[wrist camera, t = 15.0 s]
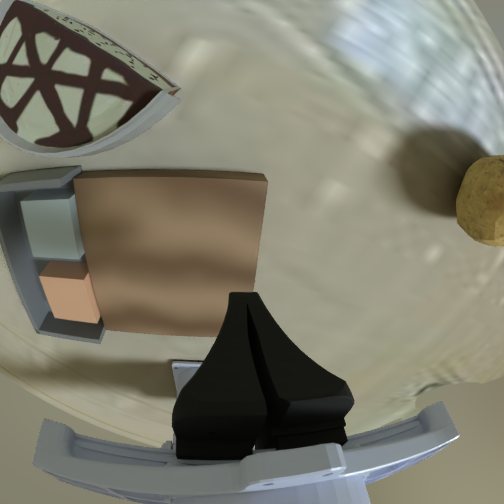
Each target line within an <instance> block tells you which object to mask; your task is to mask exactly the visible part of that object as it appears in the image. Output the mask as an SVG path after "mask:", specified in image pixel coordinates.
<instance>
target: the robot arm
mask: <svg viewBox="0 0 504 504" xmlns="http://www.w3.org/2000/svg"><path fill="white" fill-rule="evenodd" d="M172 370H173V376H174V381H175V386H176V391H177V397H176V403H175V405H174V409H173V413H172V428H173V431H174V434H173V444H172V441H166V443H164V444H163V445H162V447H161V448H150V447H143V446H136V445H129V444H123V443H117V442H112V441H106V440H102V439H97V438H93V437H88V436H84V435H80V434H76V433H75V432H74V431H73V429H72V428H70V427H69V426H67V425H65V424H62V423H58V422H55V421H52V420H49V419H43V422H42V426H41V430H40V434H39V438H38V442H37V446H36V451H35V456H34V460H33V465H34V466H36V467H37V468H39V469H41V470H42V471H44V472H45V473H47V474H49V475H50V476H52V477H54V478H56V479H58V480H59V481H62V482H65V483H67V484H70V485H74V486H77V487H80V488H83V489H87V490H90V491H93V492H96V493H100V494H103V495H107V496H111V497H115V498H119V499H124V500H128V501H133V502H138V503H143V504H371V503H370V500H369V496H368V493H367V489H366V486H365V485H366V484H369V483H372V482H375V481H377V480H380V479H382V478H385V477H387V476H389V475H392V474H394V473H397V472H399V471H401V470H403V469H405V468H408V467H410V466H412V465H414V464H416V463H418V462H420V461H423V460H425V459H427V458H429V457H431V456H432V455H434V454H436V453H437V452H438V451H440V450H441V449H443V448H444V447H446V446H447V445H448V444H449V443H451V442H452V441H454V440H455V439H456V438H457V437H459V433H458V431H457V429H456V427H455V425H454V423H453V420H452V418H451V417H450V415H449V412H448V410H447V409H446V407H445V405H444V403H443V401H440V402H437V403H435V404H432V405H430V406H428V407H426V408H424V409H423V410H422V411H421V412H420V413H419V414H418V415H417V416H414V417H412V418H409V419H406V420H403V421H400V422H397V423H395V424H391V425H388V426H385V427H381V428H378V429H374V430H371V431H367V432H363V433H359V434H355V435H351V436H346V433H345V430H344V427H345V426H346V423H345V420H344V417H345V416H346V414H347V413H348V412H349V411H350V409H351V408H352V406H353V405H354V398H353V396H352V393H351V391H350V389H349V387H348V385H347V383H346V381H344V380H342V379H340V378H339V377H337V376H335V375H333V374H332V373H330V372H328V371H327V370H325V369H324V368H322V367H321V366H320V365H318V364H317V363H316V362H314V361H313V360H312V359H311V358H309V357H308V356H307V355H306V354H305V353H303V352H302V351H301V350H300V349H299V348H298V347H297V346H296V345H295V344H294V343H293V342H292V341H291V340H290V339H289V337H288V336H287V335H286V334H285V333H284V332H283V330H282V329H281V328H280V327H279V325H278V324H277V323H276V321H275V320H274V318H273V317H272V316H271V314H270V313H269V311H268V310H267V308H266V306H265V305H264V303H263V301H262V300H261V298H260V296H259V294H258V293H257V292H230V293H229V298H228V308H227V312H226V315H225V318H224V321H223V324H222V327H221V329H220V332H219V334H218V336H217V338H216V340H215V342H214V344H213V346H212V348H211V350H210V352H209V353H208V355H207V357H206V358H205V360H204V361H203V362H185V361H173V362H172ZM254 445H255V449H254V448H253V447H254Z"/></svg>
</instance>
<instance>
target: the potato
mask: <svg viewBox="0 0 504 504" xmlns="http://www.w3.org/2000/svg"><path fill="white" fill-rule="evenodd" d="M456 211H457V224H458V225H459V226H460V227H461V228H462V229H463V230H464V231H465V232H466V233H467V234H468V235H469V236H470V237H472V238H473V239H474V240H475V241H478V242H481V243H483V244H486V245H490V246H495V247H496V246H504V155H497V156H491V157H485V158H480V159H479V160H477V161H476V162H474V163H473V164H472V165H471V166H470V167H469V168H468V170H467V171H466V174H465V176H464V179H463V181H462V184H461V187H460V190H459V192H458V195H457V198H456Z"/></svg>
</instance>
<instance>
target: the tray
mask: <svg viewBox="0 0 504 504" xmlns="http://www.w3.org/2000/svg"><path fill="white" fill-rule="evenodd" d="M80 174H81V166H68V167H57V168H47V169H38V170H30V171H22V172H15V173H10V174H8V175H6V176H5V177H3V178H1V179H0V243H1V246H2V249H3V253H4V256H5V259H6V262H7V265H8V268H9V271H10V273H11V276H12V279H13V281H14V284H15V286H16V289H17V291H18V294H19V296H20V299H21V301H22V303H23V306H24V308H25V310H26V312H27V314H28V317H29V319H30V321H31V323H32V325H33V327H34V329H35V331H36V333H38V334H43V335H48V336H53V337H59V338H64V339H70V340H76V341H83V342H90V343H97V344H101V341H102V338H103V336H104V333H105V330H106V329H105V326H104V323H103V320H102V317H101V316H100V318H99V321H98V323H89V322H81V321H73V320H66V319H60V318H55V317H54V315H53V312H52V310H51V307H50V305H49V302H48V300H47V297H46V294H45V292H44V289H43V286H42V283H41V281H40V278H39V275H40V274H41V272H42V271H43V270H44V268H45V267H46V266H47V265H48V263H49V262H50V261H65V262H82V263H87V261H86V256H85V253H84V254H83V255H82V257H81V258H80V260H78V259H61V258H45V257H33V254H32V250H31V246H30V243H29V239H28V235H27V231H26V226H25V222H24V217H23V213H22V208H21V202H20V201H21V200H23V199H24V198H26V197H27V196H28V195H30V194H31V193H33V192H34V191H35V190H44V189H62V188H74V180H73V179H74V178H76V177H77V176H78V175H80Z"/></svg>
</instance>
